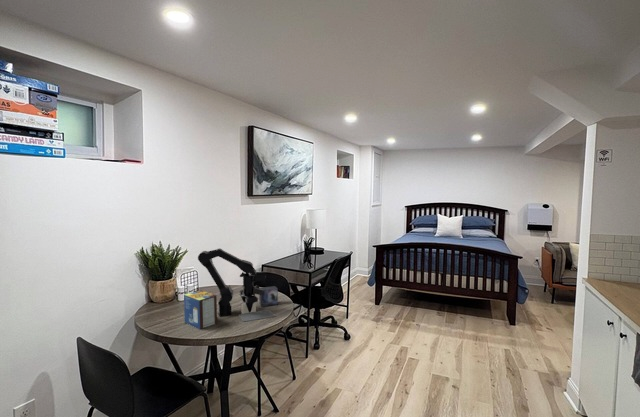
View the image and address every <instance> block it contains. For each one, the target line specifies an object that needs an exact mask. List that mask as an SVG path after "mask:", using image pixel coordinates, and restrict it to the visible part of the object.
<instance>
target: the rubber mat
mask: <svg viewBox="0 0 640 417" xmlns="http://www.w3.org/2000/svg"><path fill="white" fill-rule="evenodd" d="M238 316H239V318H240V319H241V320H242V321H243V323H247V322H252V321H258V320H264V319H269V318H276V315H275V314H274V313H273V311H272V310H270V309H264V310H258V311H257V310H256V312H250V313H244V314H241V313H240V314H238Z"/></svg>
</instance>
